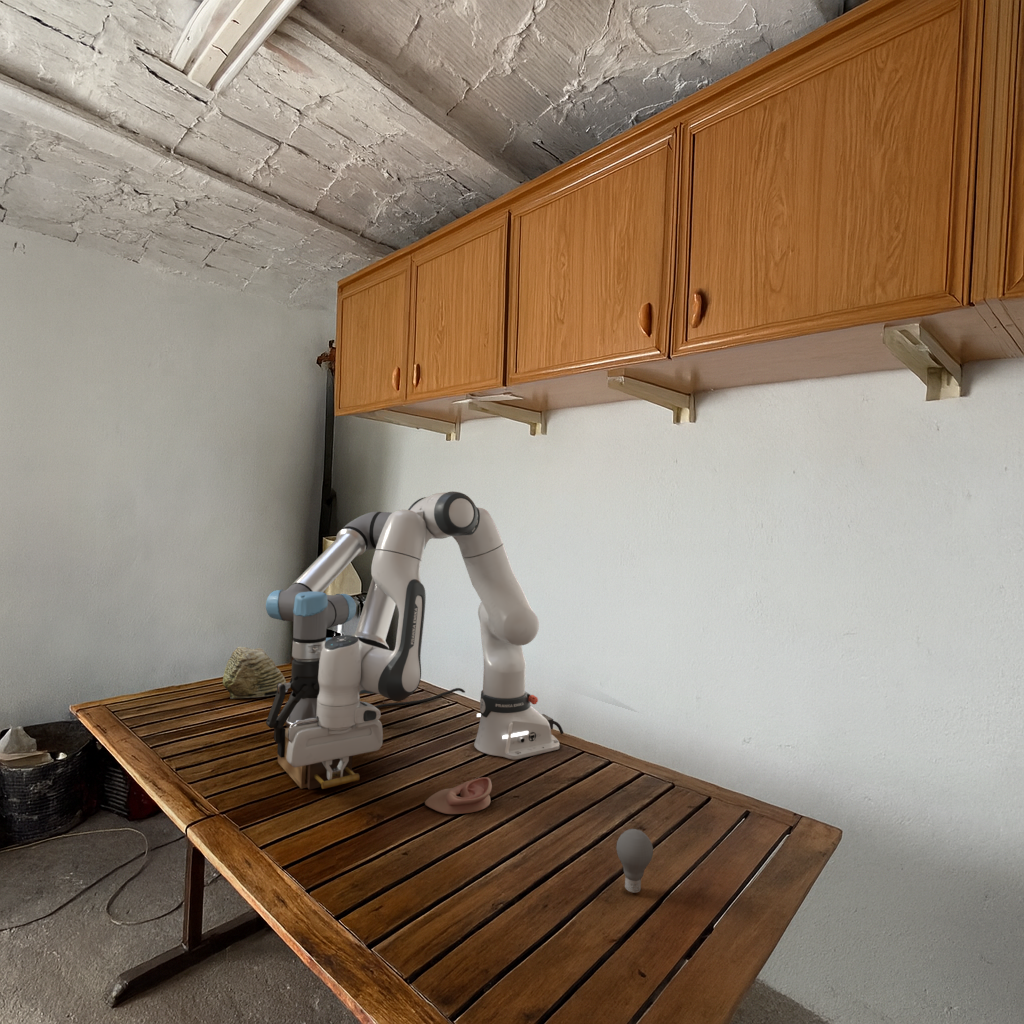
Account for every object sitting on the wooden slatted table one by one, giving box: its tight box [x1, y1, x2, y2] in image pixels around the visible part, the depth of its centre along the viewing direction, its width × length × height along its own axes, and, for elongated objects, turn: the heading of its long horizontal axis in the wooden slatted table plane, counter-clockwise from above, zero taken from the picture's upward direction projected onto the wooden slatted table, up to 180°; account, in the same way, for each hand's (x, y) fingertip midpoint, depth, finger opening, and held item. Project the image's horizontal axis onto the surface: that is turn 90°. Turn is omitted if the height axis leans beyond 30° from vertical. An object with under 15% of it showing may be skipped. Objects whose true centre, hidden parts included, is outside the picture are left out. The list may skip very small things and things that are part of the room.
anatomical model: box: [424, 776, 493, 815], centre depth 134 cm, size 13×4×12 cm
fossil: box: [222, 646, 287, 699], centre depth 198 cm, size 9×18×15 cm, turn 132°
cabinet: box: [277, 727, 308, 790], centre depth 146 cm, size 16×11×8 cm, turn 38°
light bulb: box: [615, 828, 654, 894], centre depth 106 cm, size 6×6×10 cm
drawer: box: [305, 756, 360, 790], centre depth 141 cm, size 21×10×6 cm, turn 38°
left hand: (305, 750), depth 150 cm, fingers closed on cabinet, 11 cm apart
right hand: (334, 777), depth 135 cm, fingers closed
